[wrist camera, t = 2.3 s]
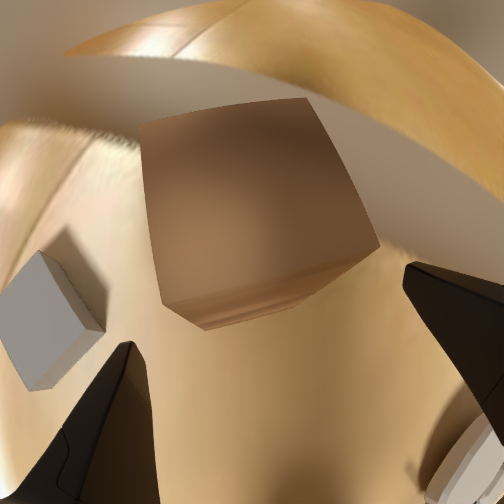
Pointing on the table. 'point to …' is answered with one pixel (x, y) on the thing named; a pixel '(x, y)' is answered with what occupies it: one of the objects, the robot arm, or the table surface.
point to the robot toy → (470, 468)
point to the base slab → (45, 323)
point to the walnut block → (248, 210)
